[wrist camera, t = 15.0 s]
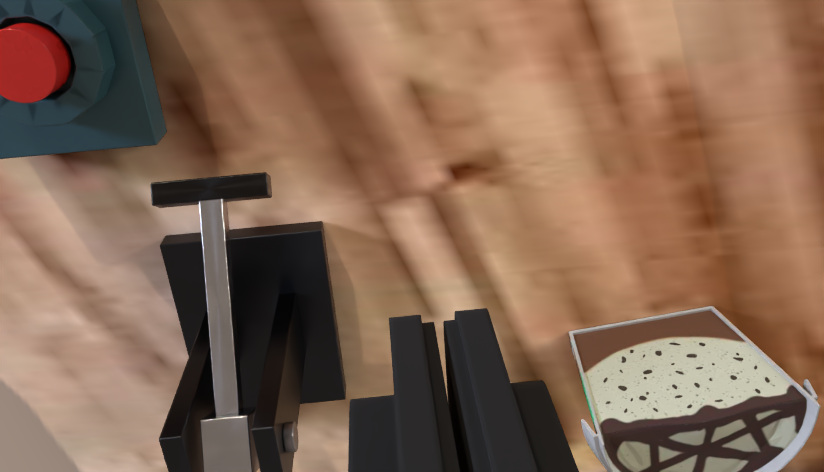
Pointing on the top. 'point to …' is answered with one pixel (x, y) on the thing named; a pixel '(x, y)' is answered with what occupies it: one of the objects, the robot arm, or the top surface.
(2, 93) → the button
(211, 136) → the top surface
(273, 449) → the bracket
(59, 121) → the button block
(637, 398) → the food container
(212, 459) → the lever
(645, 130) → the top surface
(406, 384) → the robot arm
